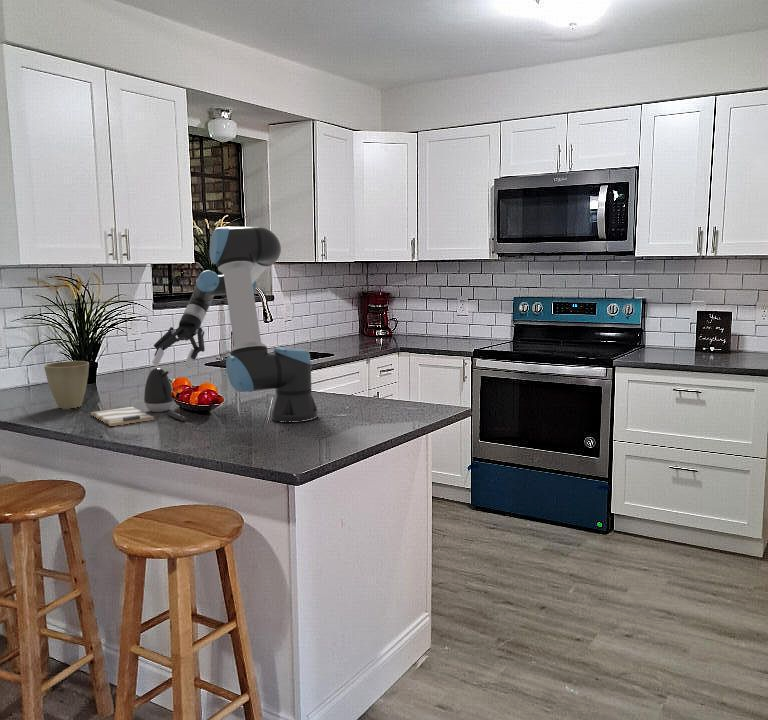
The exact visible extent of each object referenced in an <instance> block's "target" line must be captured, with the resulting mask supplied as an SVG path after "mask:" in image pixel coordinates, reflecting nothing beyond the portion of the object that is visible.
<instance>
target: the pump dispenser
mask: <svg viewBox="0 0 768 720" xmlns="http://www.w3.org/2000/svg"><path fill="white" fill-rule="evenodd" d="M169 374H170V373H169V371H168V370H166V371H165V370H164V369H163V368H161V367H155V368H153V369H151V370H150V371H149V373H148V375H147V378H146V381H145V385H144V392H143V403H144V405H145V407H146V408H147V410H149V411H150V412H152V413H165V412H167V411H170V410H171V408H172V406H173V404H174V401H175V399H174V400H173V399H172V397H171V391H172V389H173V386H172V383H171V380H170V378H169V376H168V375H169ZM164 411H165V412H164Z"/></svg>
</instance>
